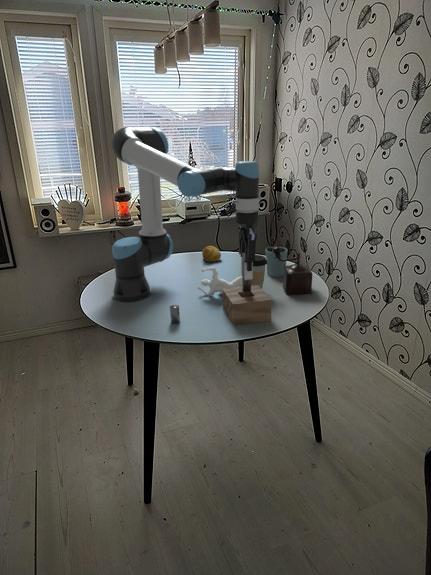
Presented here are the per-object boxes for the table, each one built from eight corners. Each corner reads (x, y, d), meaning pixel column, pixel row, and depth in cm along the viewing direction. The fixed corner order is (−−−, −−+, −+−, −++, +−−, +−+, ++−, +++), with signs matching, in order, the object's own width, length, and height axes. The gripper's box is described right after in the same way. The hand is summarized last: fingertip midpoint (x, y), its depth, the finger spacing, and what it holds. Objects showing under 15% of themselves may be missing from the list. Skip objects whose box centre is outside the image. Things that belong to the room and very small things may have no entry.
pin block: (222, 308, 144) (222, 289, 141) (257, 304, 147) (258, 285, 144) (233, 325, 132) (232, 304, 129) (271, 320, 134) (271, 299, 131)
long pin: (241, 289, 137) (241, 251, 132) (249, 288, 137) (249, 251, 132) (243, 292, 134) (243, 254, 129) (252, 291, 135) (252, 253, 129)
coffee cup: (242, 288, 163) (242, 254, 157) (264, 287, 163) (265, 253, 158) (245, 297, 154) (245, 262, 148) (268, 295, 154) (269, 260, 149)
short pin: (170, 320, 136) (169, 305, 134) (179, 319, 137) (178, 304, 134) (171, 324, 133) (170, 309, 131) (180, 323, 134) (179, 308, 131)
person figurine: (240, 264, 159) (202, 264, 151) (255, 280, 149) (214, 280, 141) (233, 290, 165) (195, 291, 157) (246, 307, 156) (206, 309, 147)
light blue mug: (281, 279, 172) (282, 253, 167) (261, 275, 177) (261, 250, 172) (289, 272, 180) (290, 248, 175) (270, 269, 185) (270, 245, 180)
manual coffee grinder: (306, 284, 165) (308, 244, 158) (311, 294, 155) (315, 252, 148) (270, 285, 165) (271, 245, 158) (273, 295, 155) (275, 253, 148)
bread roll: (201, 256, 207) (201, 242, 204) (219, 255, 208) (219, 241, 205) (202, 263, 195) (202, 248, 192) (221, 262, 196) (221, 247, 193)
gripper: (229, 207, 132) (230, 271, 140) (243, 216, 117) (243, 286, 126) (250, 205, 133) (249, 269, 142) (266, 214, 118) (264, 284, 127)
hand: (246, 277), depth 134 cm, fingers closed on long pin, 3 cm apart
